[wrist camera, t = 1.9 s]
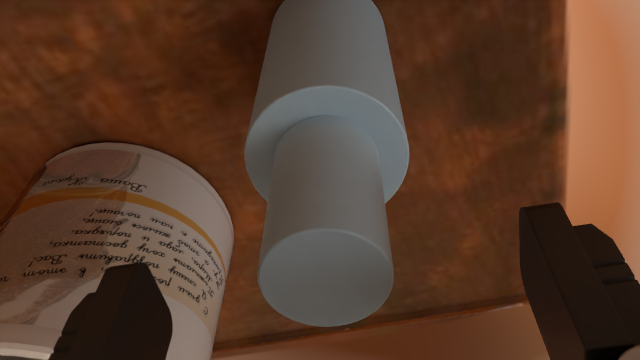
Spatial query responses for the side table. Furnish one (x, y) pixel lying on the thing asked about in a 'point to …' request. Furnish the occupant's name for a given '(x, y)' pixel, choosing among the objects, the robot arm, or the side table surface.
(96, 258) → the mug
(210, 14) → the side table surface
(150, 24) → the side table surface
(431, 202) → the side table surface
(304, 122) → the blue bottle
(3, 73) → the side table surface
